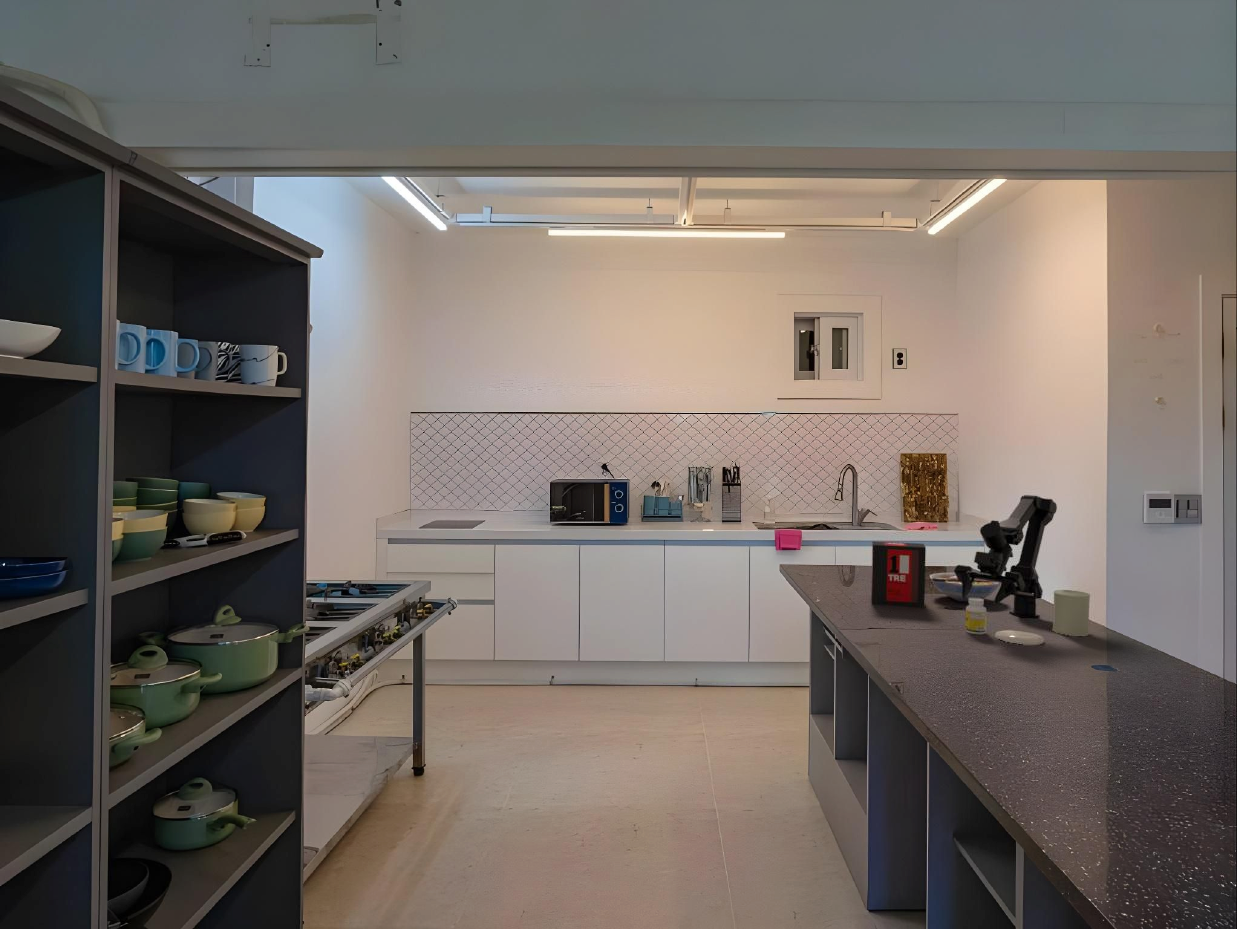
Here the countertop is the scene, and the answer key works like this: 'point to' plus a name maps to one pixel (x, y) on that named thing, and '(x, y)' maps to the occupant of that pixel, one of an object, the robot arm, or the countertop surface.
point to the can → (1071, 613)
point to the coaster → (1019, 637)
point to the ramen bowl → (953, 587)
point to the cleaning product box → (898, 574)
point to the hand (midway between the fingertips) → (978, 600)
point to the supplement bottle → (976, 616)
